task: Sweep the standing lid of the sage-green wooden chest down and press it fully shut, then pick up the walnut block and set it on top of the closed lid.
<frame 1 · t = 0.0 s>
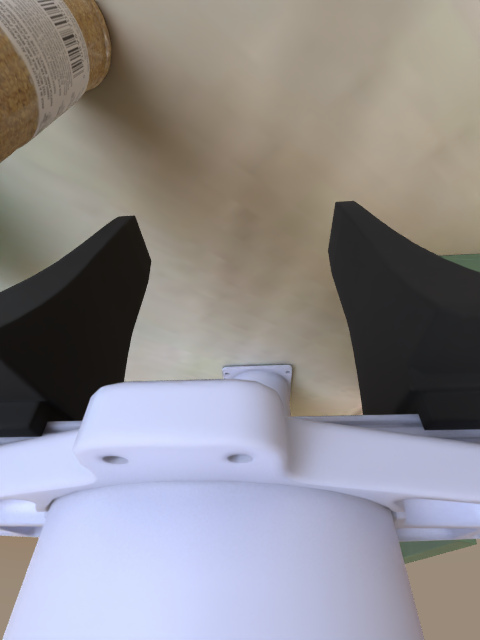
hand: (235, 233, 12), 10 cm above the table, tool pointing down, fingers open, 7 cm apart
chest: (434, 306, 29), on the table
sprinkles bottle: (67, 33, 15), on the table
lid: (403, 446, 21), point 13 cm above the table, hinge at 100.0°
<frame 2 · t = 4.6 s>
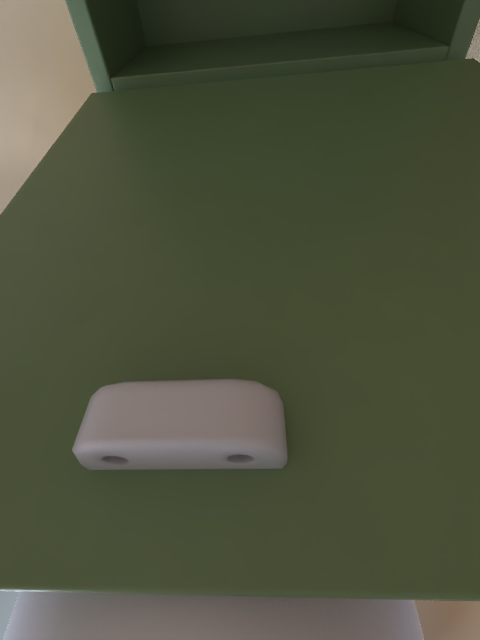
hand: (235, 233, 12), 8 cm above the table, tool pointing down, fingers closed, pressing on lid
lid: (290, 201, 6), point 13 cm above the table, hinge at 95.0°, touching gripper
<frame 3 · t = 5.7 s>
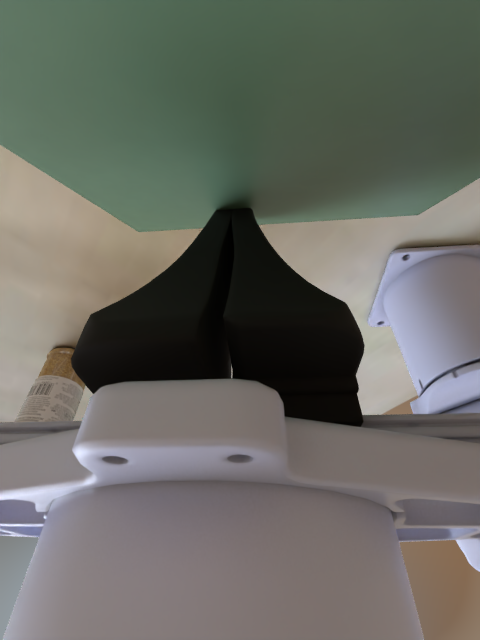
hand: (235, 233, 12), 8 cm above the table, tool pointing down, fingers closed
sprinkles bottle: (73, 356, 33), on the table
lid: (284, 137, 7), point 11 cm above the table, hinge at 43.1°, touching gripper
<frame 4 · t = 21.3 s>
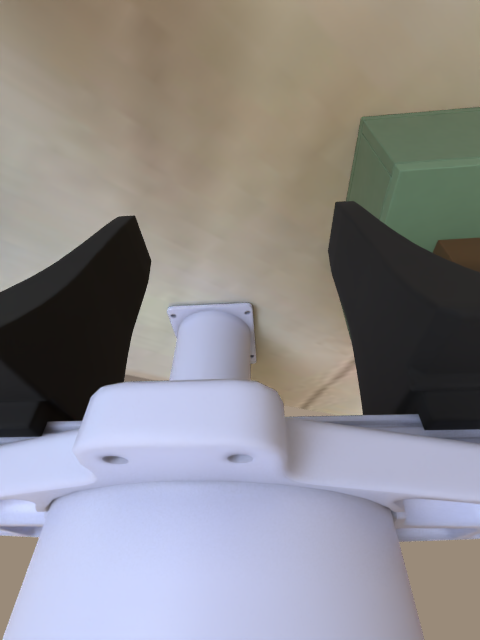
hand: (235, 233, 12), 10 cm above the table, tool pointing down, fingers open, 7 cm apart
block: (464, 271, 17), point 7 cm above the table, touching lid
chest: (426, 205, 22), on the table
lid: (479, 266, 17), point 7 cm above the table, hinge at 0.0°, touching block
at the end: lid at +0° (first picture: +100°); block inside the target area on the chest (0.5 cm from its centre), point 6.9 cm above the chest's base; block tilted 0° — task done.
